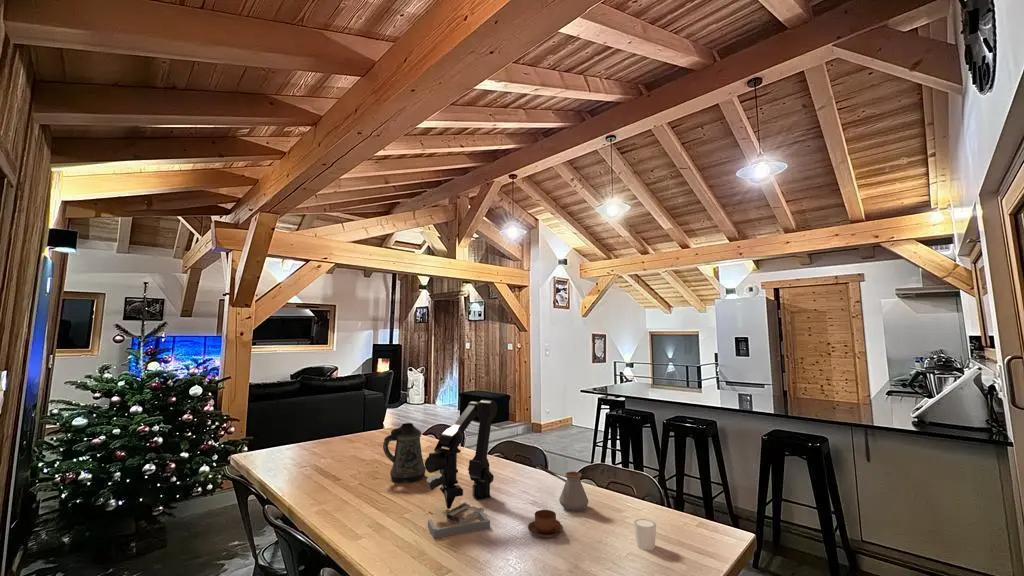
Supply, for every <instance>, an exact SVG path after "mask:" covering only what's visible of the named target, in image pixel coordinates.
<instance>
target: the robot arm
mask: <svg viewBox="0 0 1024 576" xmlns="http://www.w3.org/2000/svg"><path fill="white" fill-rule="evenodd" d="M497 412H498V404H497V402H496V401H495V400H490V399H481V400H480V401H473V400H472V401H470V402H468V404H467V407H466V408H465V409H464V411H463V412H462V413H461V415H460V416H459V417H458V418H457V420H456V421H455V422H454V424H453V425H452V426H450V427H449V428H446V429H445V430H444V431H443V432H442V433H441V435H440V436H439V439H438V441H437V443H436V446H435V448H434V449H433V452H429V454H428V456H427V458H425V461H424V466H425V468H426V472H427V473H428V474H432V473H433V475H432V476H430V477H428V478H426V483H427V486H428V488H429V490H430V491H434V490H436V488H439V490H440V492H441V493H442V494H443V496H444V500H445V505H446V508H447V510H451V508H452V505H453V503H454V501H455V499H456V497H457V498H458V497H463V496H464V489H463V488H462V486H460V485H459V484H458V483H459V481H458V480H457V479H458V478H457V476H458V475H457V473H459V469H458V468H457V465H458V464H457V462H458V457H457V456H458V454H459V453H461V449H460V448H459V446H460V444H461V443H462V440H463V435H464V433H465V431H466V429H467V428H468V427H469V426H470V425H471V423H472V422H473V421H474V418H475V417H476V416H477V417H478V419H479V425H478V433H477V438H476V439H477V440H476V445H475V446H476V448H475V453H474V454H475V455H474V456H473V458H472V459H469V461H468V469H467V471H468V475H469V477H470V478H469V479H470V481H471V482H472V481H473V484H472V493H471V494H472V496H473V497H474V499H475V500H477V501H479V500H483V499H491V498H492V496H491V484H492V483H493V482H494V474H493V473H492V472H491V471H490V462H489V459H488V451H489V449H488V448H489V442H490V436H491V428H492V427H491V426H492V422H493V421H494V419H495V417H496V416H497ZM435 472H438V473H436V474H434V473H435ZM440 486H441V487H440Z"/></svg>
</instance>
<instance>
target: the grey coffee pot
mask: <svg viewBox="0 0 1024 576" xmlns="http://www.w3.org/2000/svg"><path fill="white" fill-rule="evenodd" d="M537 469H540V470H542V471H544V472H545V473H547V474H549V475H551V476H554V477H555V478H557V479H559V480H561V481H563V482H564V485H563V489H562V490H561V494H560V496H559V499H558V502H559V504H560V505H561V506H562V508H564V510H566V511H568V512H573V513H577V512H578V513H579V512H582V511H584V509H586V507H587V506H588V504H589V498H588V496H587V494H586V493H587V492H586V491H585V488H584V487H583V484H582V482H581V477H582V473H580V472H578V471H566V472H565V476H566V478H563V477H562V476H559V475H558V474H557V473H554V472H553V471H552V470H550V469H549V468H545V467H544V466H541V465H540V464H537V465H536V467H535V470H537Z"/></svg>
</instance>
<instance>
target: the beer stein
mask: <svg viewBox="0 0 1024 576" xmlns="http://www.w3.org/2000/svg"><path fill="white" fill-rule="evenodd" d="M421 437H422V431H421V430H419V429H418V428H417V427H416V426H415V425H414V423H412V422H405V423H402V424H401V426H399V427H396V428H393V429H391V431H390V434H389V435H387V436H385V438H384V439H383V440H384V441H383V443H382V449H383V453H384V455H385V456H386V458H387V459H388V460H389V461H390V462H392V466H391V469H390V472H389V473H390V480H391V481H393V482H394V483H399V484H400V483H401V484H410V483H415V482H419V481H422V480H423V479H424V478H425V474H426V472H427V470H426V468H425V462H424V458H423V454H422V453H423V452H422V446H421ZM392 441H393V442H396V443H395V448H394V449H395V450H394V455H393V454H392V453H391V451H390V448H389V444H390V443H391V442H392Z"/></svg>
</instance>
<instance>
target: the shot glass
mask: <svg viewBox="0 0 1024 576" xmlns="http://www.w3.org/2000/svg"><path fill="white" fill-rule="evenodd" d="M633 525H634V526H633V528H634V535H635V542H636V543H635V544H636V547H637V548H638V549H640V550H643V551H652V550H653V551H654V550H655V548H656V535H657V534H656V533H657V531H656V530H657V524H656V522H655V521H653V520H650V519H647V518H646V519H645V518H639V519H635V520H634V521H633Z"/></svg>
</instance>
